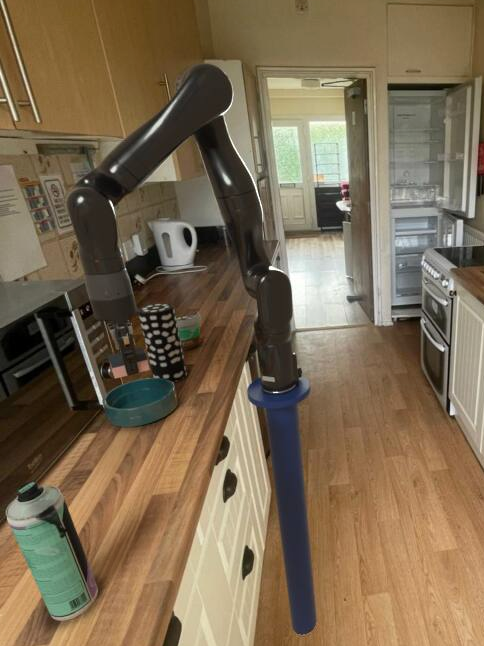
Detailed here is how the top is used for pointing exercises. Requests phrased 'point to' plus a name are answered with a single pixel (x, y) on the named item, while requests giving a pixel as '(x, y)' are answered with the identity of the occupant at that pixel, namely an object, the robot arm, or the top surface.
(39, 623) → the top surface
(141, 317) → the spotted tube
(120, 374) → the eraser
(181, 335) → the food container
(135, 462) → the top surface
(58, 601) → the spray can
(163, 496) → the top surface
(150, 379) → the bowl
